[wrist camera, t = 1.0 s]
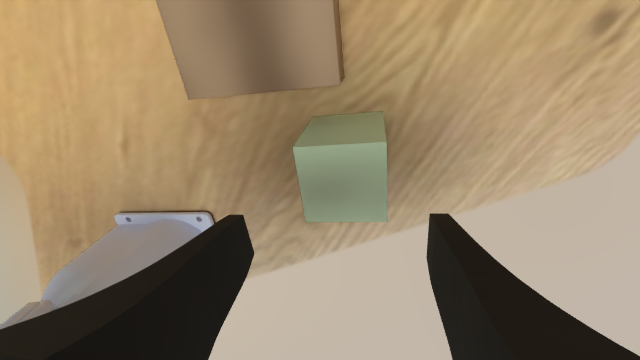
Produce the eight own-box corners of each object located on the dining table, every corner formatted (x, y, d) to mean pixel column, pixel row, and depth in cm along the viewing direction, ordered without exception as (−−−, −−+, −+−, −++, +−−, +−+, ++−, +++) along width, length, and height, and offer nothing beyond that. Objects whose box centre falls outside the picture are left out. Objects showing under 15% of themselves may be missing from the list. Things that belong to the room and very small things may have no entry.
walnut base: (213, 90, 19) (188, 99, 17) (164, -82, 15) (121, -105, 13) (344, 76, 18) (339, 84, 15) (329, -123, 13) (318, -159, 11)
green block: (321, 176, 21) (305, 222, 16) (313, 116, 19) (292, 147, 14) (384, 174, 20) (387, 221, 15) (383, 111, 18) (386, 142, 13)
